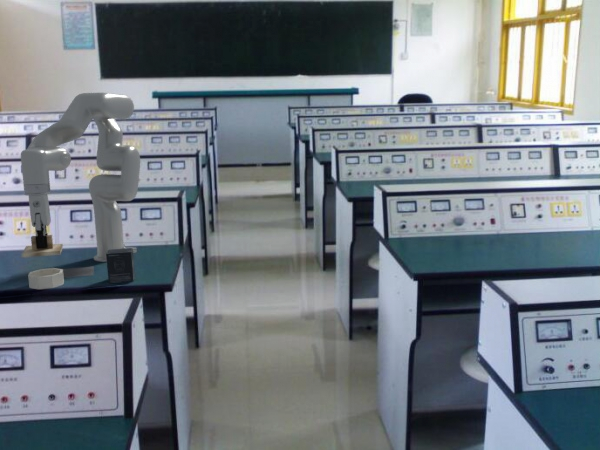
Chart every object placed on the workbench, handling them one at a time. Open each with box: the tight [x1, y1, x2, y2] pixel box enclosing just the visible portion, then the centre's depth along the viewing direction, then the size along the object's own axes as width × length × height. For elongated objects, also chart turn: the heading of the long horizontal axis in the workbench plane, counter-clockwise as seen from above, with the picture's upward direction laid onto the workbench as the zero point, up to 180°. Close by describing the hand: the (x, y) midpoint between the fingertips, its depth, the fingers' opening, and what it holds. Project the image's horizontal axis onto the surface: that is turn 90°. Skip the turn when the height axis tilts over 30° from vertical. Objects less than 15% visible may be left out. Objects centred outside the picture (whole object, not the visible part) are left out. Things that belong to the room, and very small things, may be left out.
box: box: [106, 248, 136, 284], centre depth 200 cm, size 8×6×11 cm
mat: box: [62, 266, 95, 279], centre depth 211 cm, size 12×12×1 cm
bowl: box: [27, 267, 65, 290], centre depth 197 cm, size 10×10×4 cm
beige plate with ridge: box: [21, 234, 64, 258], centre depth 195 cm, size 11×11×5 cm
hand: (42, 246), depth 195 cm, fingers closed on beige plate with ridge
